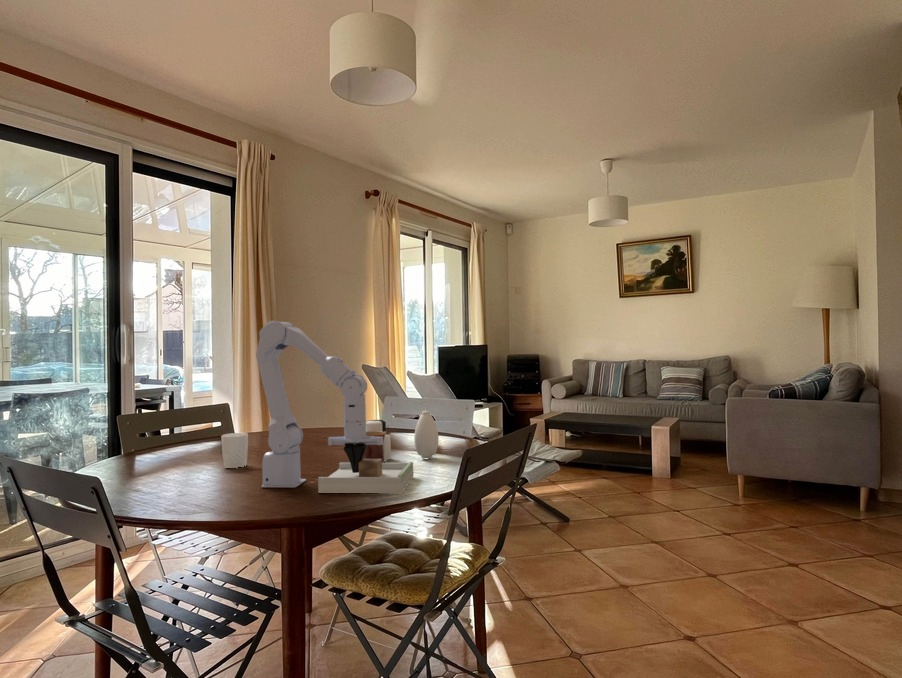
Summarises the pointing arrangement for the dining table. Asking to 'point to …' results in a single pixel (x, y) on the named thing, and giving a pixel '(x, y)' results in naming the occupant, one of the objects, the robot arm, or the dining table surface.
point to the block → (370, 468)
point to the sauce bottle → (426, 435)
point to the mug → (374, 447)
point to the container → (380, 426)
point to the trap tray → (367, 480)
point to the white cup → (234, 449)
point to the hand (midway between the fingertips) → (356, 471)
